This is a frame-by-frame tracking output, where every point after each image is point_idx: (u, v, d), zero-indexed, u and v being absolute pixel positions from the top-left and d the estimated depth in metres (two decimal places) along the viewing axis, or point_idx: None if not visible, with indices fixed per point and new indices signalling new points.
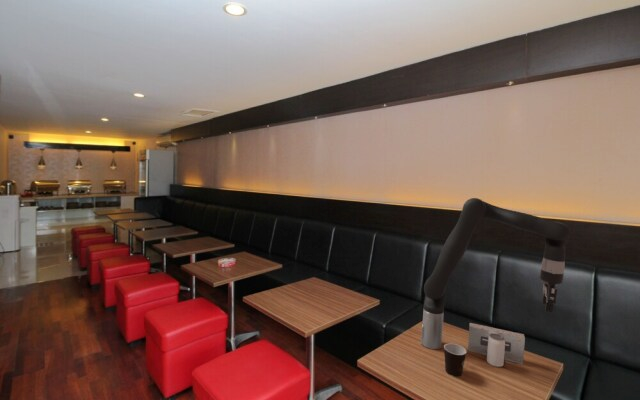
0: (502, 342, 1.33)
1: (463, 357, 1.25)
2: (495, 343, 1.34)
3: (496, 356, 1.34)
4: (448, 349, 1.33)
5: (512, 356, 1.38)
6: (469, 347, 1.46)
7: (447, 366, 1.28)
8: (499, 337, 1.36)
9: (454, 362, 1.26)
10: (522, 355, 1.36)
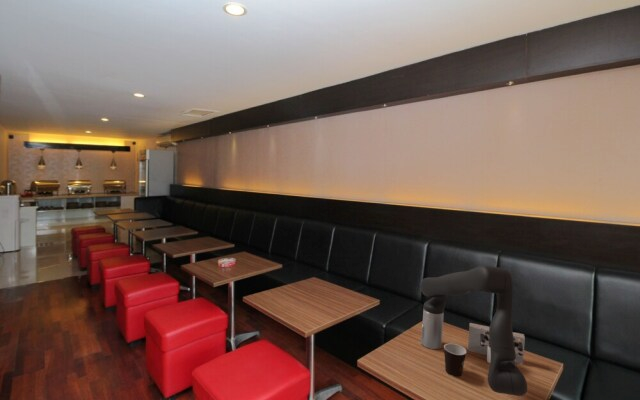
0: None
1: (463, 357, 1.25)
2: None
3: None
4: (448, 349, 1.33)
5: None
6: (469, 347, 1.46)
7: (447, 366, 1.28)
8: None
9: (454, 362, 1.26)
10: (522, 355, 1.36)
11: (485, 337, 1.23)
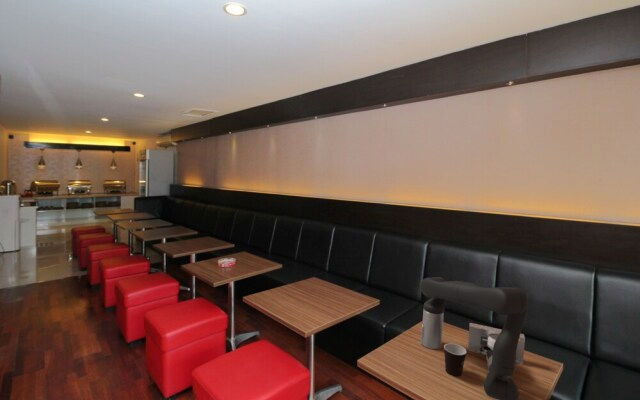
0: None
1: (463, 357, 1.25)
2: None
3: None
4: (448, 349, 1.33)
5: None
6: (469, 347, 1.46)
7: (447, 366, 1.28)
8: None
9: (454, 362, 1.26)
10: (522, 355, 1.36)
11: (486, 347, 1.36)
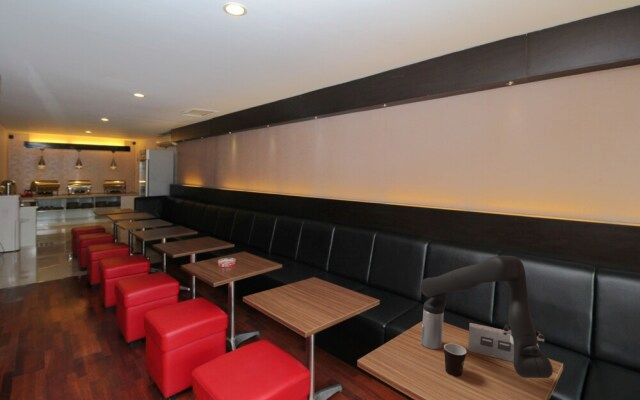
0: None
1: (463, 357, 1.25)
2: None
3: None
4: (448, 349, 1.33)
5: (512, 356, 1.38)
6: (469, 347, 1.46)
7: (447, 366, 1.28)
8: None
9: (454, 362, 1.26)
10: None
11: None
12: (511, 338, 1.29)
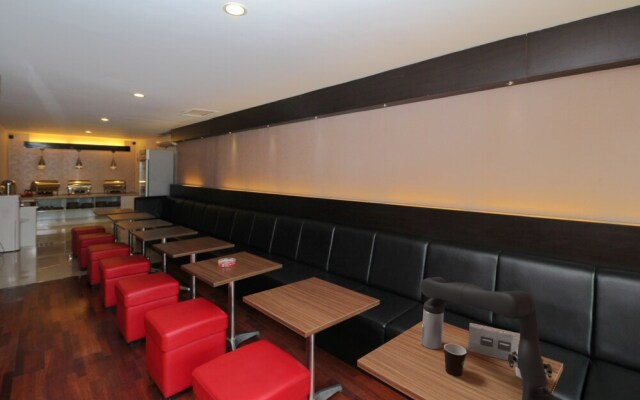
0: None
1: (463, 357, 1.25)
2: None
3: None
4: (448, 349, 1.33)
5: None
6: (469, 347, 1.46)
7: (447, 366, 1.28)
8: None
9: (454, 362, 1.26)
10: None
11: (513, 358, 1.26)
12: (517, 370, 1.28)
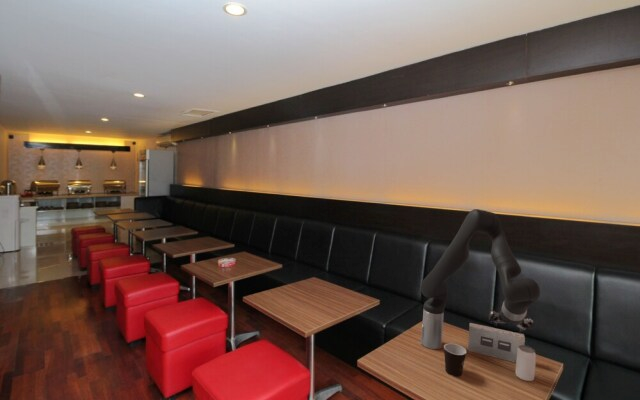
0: (533, 355, 1.24)
1: (463, 357, 1.25)
2: (525, 356, 1.24)
3: (526, 370, 1.24)
4: (448, 349, 1.33)
5: (512, 356, 1.38)
6: (469, 347, 1.46)
7: (447, 366, 1.28)
8: (529, 349, 1.27)
9: (454, 362, 1.26)
10: None
11: (494, 317, 1.23)
12: (517, 370, 1.28)
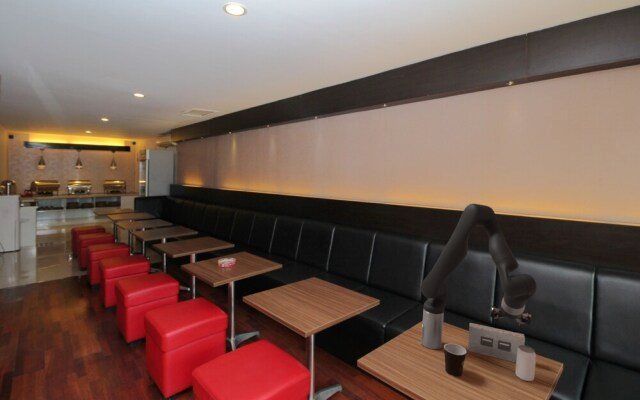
0: (533, 355, 1.24)
1: (463, 357, 1.25)
2: (525, 356, 1.24)
3: (526, 370, 1.24)
4: (448, 349, 1.33)
5: (512, 356, 1.38)
6: (469, 347, 1.46)
7: (447, 366, 1.28)
8: (529, 349, 1.27)
9: (454, 362, 1.26)
10: None
11: (495, 313, 1.30)
12: (517, 370, 1.28)
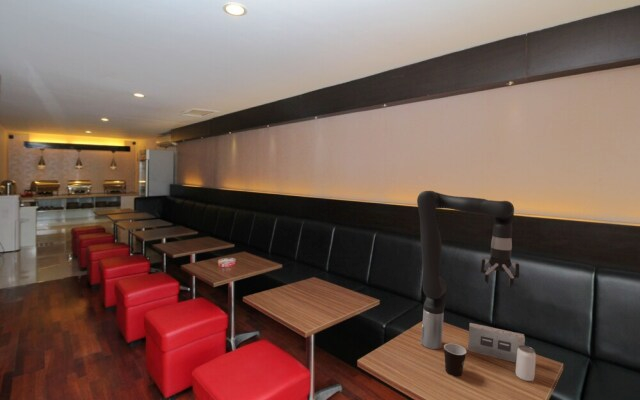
0: (533, 355, 1.24)
1: (463, 357, 1.25)
2: (525, 356, 1.24)
3: (526, 370, 1.24)
4: (448, 349, 1.33)
5: (512, 356, 1.38)
6: (469, 347, 1.46)
7: (447, 366, 1.28)
8: (529, 349, 1.27)
9: (454, 362, 1.26)
10: None
11: (485, 270, 1.35)
12: (517, 370, 1.28)
